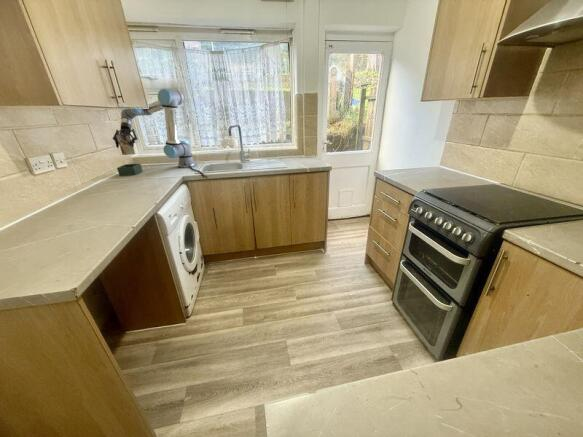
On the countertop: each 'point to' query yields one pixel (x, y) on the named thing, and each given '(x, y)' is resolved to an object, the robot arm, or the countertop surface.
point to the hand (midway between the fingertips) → (124, 146)
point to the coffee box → (125, 144)
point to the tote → (129, 169)
